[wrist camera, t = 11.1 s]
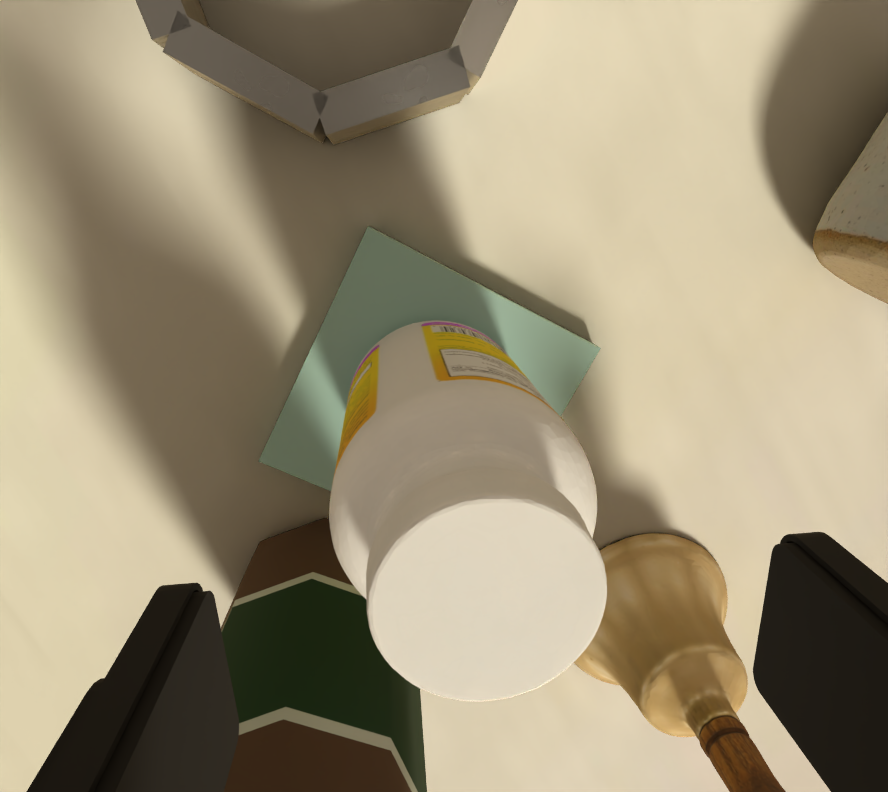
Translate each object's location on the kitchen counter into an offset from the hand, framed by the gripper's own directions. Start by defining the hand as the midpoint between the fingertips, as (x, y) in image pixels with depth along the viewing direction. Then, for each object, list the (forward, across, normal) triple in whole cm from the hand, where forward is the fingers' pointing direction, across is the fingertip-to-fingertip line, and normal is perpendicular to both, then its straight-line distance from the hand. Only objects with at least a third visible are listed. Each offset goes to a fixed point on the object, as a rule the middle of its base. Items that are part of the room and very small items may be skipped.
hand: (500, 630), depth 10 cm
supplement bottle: (+14, 0, +1) cm, 14 cm away
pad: (+15, 0, +1) cm, 15 cm away
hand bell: (+15, -9, +12) cm, 22 cm away
